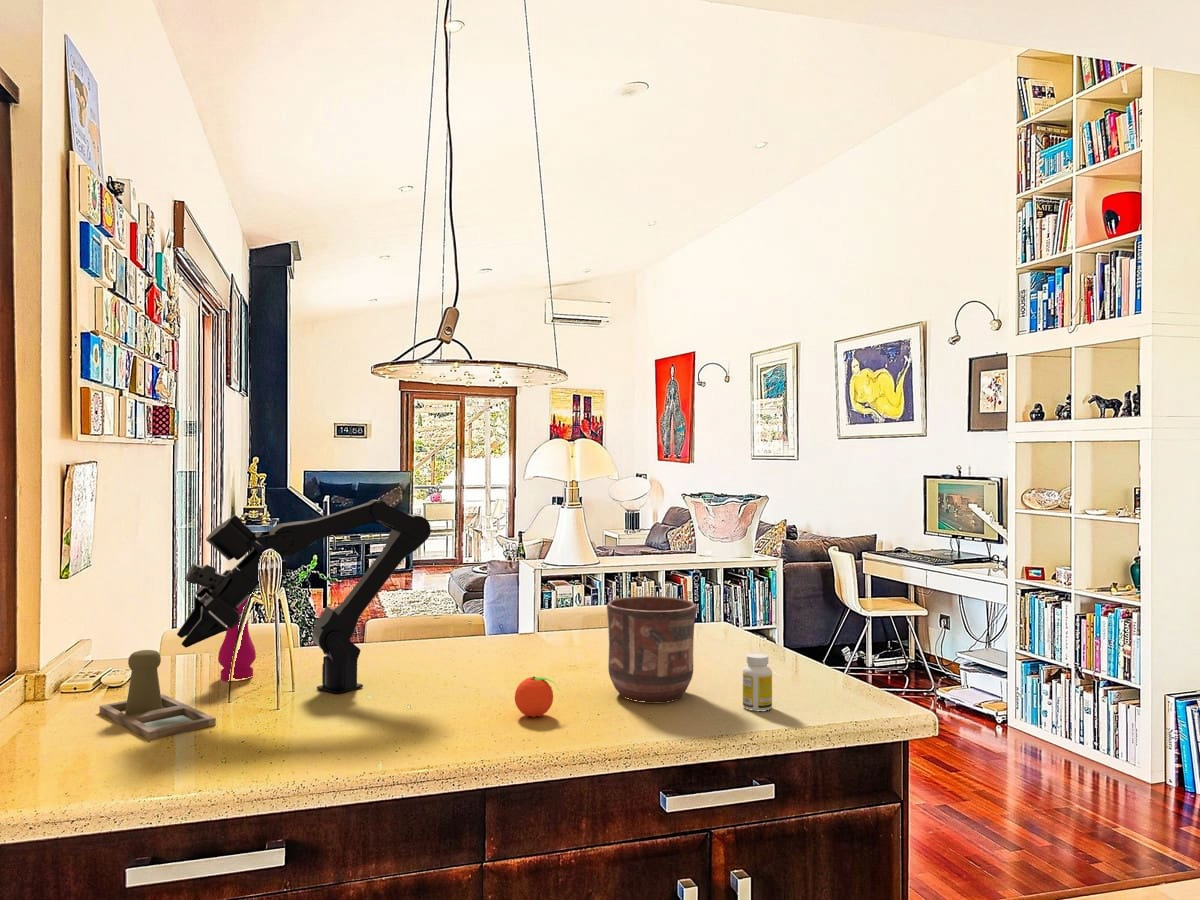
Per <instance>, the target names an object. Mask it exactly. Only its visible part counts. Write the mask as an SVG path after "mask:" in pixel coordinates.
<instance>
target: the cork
mask: <svg viewBox="0 0 1200 900" xmlns="http://www.w3.org/2000/svg"><path fill="white" fill-rule="evenodd" d="M127 662H128V663H127V664H128V668H129V669H130V671H131V672H130V673H131V675H130V680H129V685H128V692H127V699H126V701H127V704H126V709H125V710H124V711H125V712H124V714H126V715H133V714H138V713H143V712H148V711H153V710H158V709H163V705H162V701H161V694H162V693H161V688H160V687H161V686H160V680H159V673H158V668H159V667H160V665H161V662H162V657H161V654H160V653H159V651H157V650H155V649H153V650H152V649H142V650H138V651H134V652H133V653H131V654H130V656H129V657H128V661H127Z"/></svg>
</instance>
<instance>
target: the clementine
mask: <svg viewBox="0 0 1200 900" xmlns="http://www.w3.org/2000/svg"><path fill="white" fill-rule="evenodd" d="M548 681H549V682H552V683H553V684H554V685H555V686H556V687H557V689H558V691H560V689H559V688H558V685H557V684H556V683H555V681H553V680H551V679H549V678H546V677H543V676H541V677H539V676H531V677H527V678H525V679H523V680H522V681H521V682H520V683H519V684H518V686H517V687H516V689H515V691H514V692H515V693H514V702H515V706H516V707H517V709H518V710H519V712H520V713H521V714H523V716H526V717H529V716H531V717H530V718H537V717H536V716H538V717H541V716H543V715H545V714H546V713H547V712H548V711H549V710H550V708H551V707H552V705H553V701H554V692H553V689H552V686H551V685H550V684H549V682H548Z"/></svg>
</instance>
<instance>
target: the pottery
mask: <svg viewBox="0 0 1200 900" xmlns="http://www.w3.org/2000/svg"><path fill="white" fill-rule="evenodd" d="M606 614H607V629H608V630H607V631H608V662H607V663H608V664H607V665H608V674H609V677H610V681H611V682H612V685H613V686H614V689H615V690H616V692H617V693H618V694H620V695H621V697H622V696H624V697H626V698H629V699H632V700H637V701H645V702H666V703H668V702H667V701H671V702H673V701H672V700H675V701H677V700H679V699H680V697H682V696H683V694H684V693H685V692H686V691H687V690H688V687H689V686H690V683H691V681H692V678H693V674H694V634H695V623H696V616H697V615H696V614H697V604H695V603H694V602H693V601H690V600H688V599H684V598H678V597H669V596H646V595H645V596H644V595H643V596H628V597H627V596H626V597H621V598H617V599H612V600H610V601H609V602H607V603H606ZM624 697H623V698H624ZM626 698H625V699H626ZM678 698H679V699H678ZM676 699H677V700H676Z"/></svg>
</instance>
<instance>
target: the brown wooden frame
mask: <svg viewBox="0 0 1200 900" xmlns="http://www.w3.org/2000/svg"><path fill="white" fill-rule="evenodd" d="M160 694H161V701H162V706H164V708H163V707H162V709H158V710H153V711H148V712H143V713H138V714H133V715H126V714H125V712H122V711H126V704H127V700H124V701H118V702H114V703H108V704H102V705H99V709H98V710H99V714H101V715H103V716H105V717H106V718H109V719H111V720H112V721H114V722H116V723H117V724H120V725H121V726H123V727H125V728H127V729H129V731H132V732H134V733H136V734H137V735H139V736H141V737H143V738H145V739H146V740H154V739H159V738H164V737H169V736H172V735H177V734H181V733H182V734H183V733H187V732H190V731H195V730H200V729H204V728H205V729H206V728H209V727H214V726H216V722H217V721H216V720H217V718H216V717H214V716H212V715H210V714H208V713H205V712H204V711H201V710H199V709H197V708H194V707H193V706H190V705H188V704H185V703H183V702H181V701H179V700H176V699H175V698H172V697H170V696H167V695H166V694H165V693H164V694H163V693H160Z"/></svg>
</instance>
